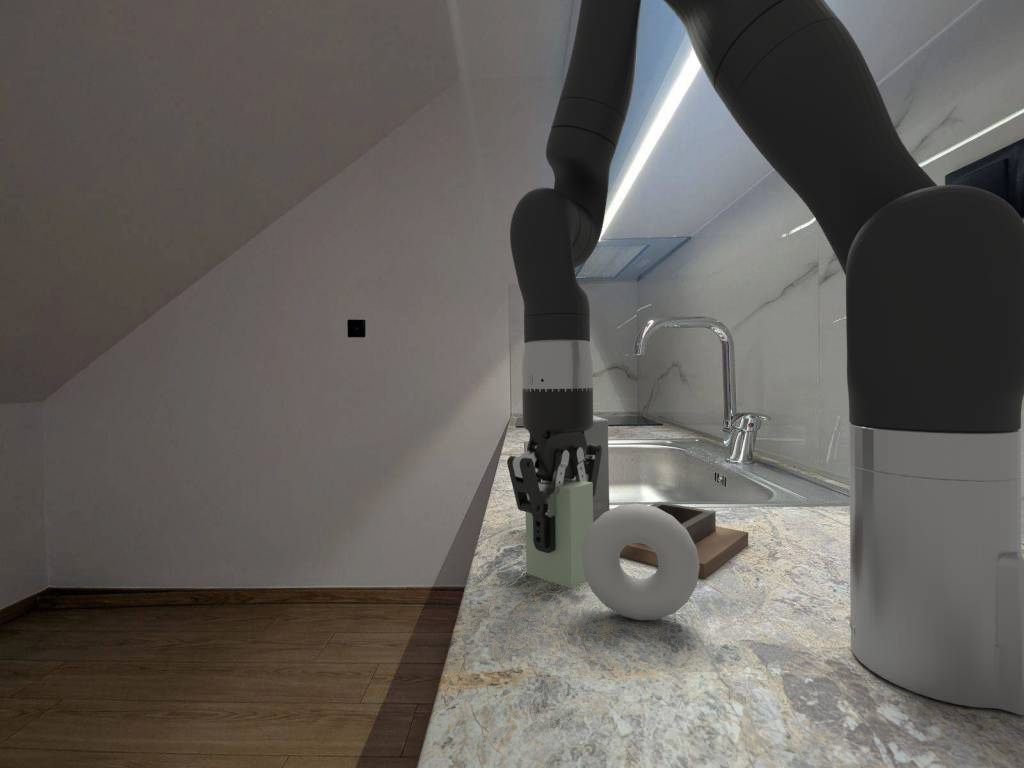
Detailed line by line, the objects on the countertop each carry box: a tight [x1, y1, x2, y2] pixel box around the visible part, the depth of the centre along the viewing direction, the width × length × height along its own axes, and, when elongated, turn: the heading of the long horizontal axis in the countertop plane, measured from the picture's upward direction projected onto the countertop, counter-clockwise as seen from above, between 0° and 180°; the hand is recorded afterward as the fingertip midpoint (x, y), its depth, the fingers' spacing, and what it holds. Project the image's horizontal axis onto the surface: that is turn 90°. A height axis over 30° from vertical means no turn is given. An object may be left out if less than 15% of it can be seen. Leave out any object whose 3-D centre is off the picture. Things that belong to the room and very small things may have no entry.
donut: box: [581, 503, 700, 621], centre depth 43 cm, size 10×3×10 cm, turn 74°
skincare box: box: [584, 414, 611, 523], centre depth 67 cm, size 8×7×16 cm
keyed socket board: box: [620, 501, 749, 579], centre depth 61 cm, size 14×14×4 cm
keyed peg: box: [525, 479, 593, 590], centre depth 52 cm, size 6×4×10 cm, turn 47°
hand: (559, 544), depth 52 cm, fingers open, 4 cm apart
